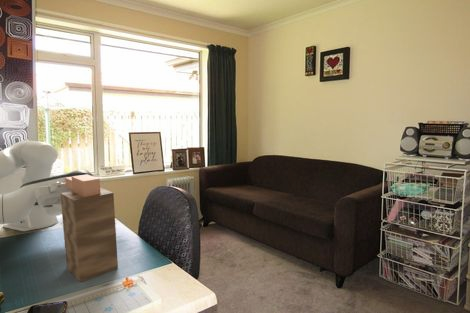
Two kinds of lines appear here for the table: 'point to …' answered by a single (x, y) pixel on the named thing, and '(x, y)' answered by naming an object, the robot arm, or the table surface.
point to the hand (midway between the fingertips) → (73, 181)
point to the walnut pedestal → (89, 233)
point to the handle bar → (84, 185)
